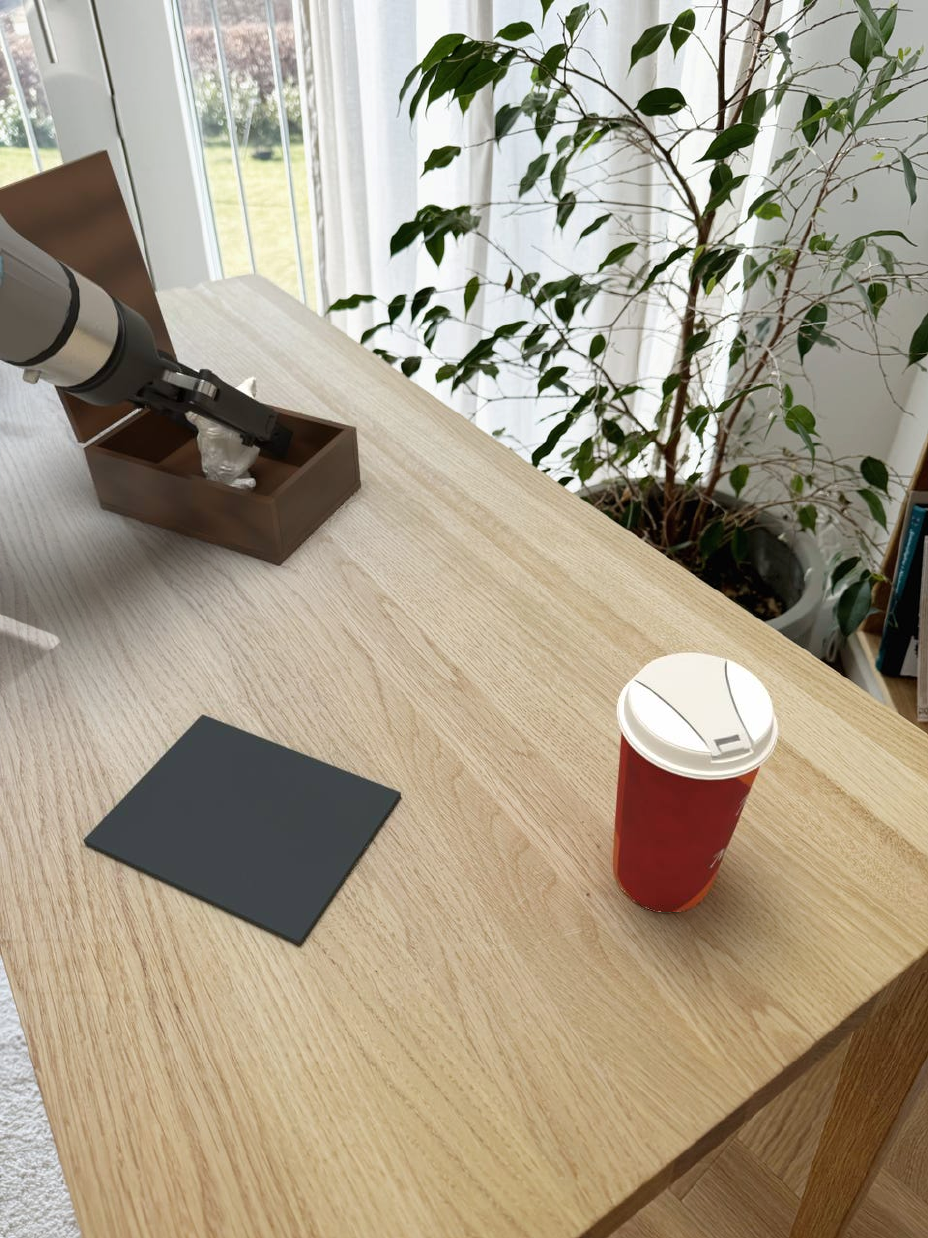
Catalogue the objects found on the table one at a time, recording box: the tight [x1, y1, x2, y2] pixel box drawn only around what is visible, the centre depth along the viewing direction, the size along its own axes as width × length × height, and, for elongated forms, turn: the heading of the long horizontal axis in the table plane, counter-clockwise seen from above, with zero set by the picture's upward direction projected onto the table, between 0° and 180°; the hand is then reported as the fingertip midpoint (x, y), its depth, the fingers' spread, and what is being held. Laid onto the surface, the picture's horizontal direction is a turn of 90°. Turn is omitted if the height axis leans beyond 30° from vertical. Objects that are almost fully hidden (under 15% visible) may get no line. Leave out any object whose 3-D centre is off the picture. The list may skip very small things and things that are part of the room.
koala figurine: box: [185, 368, 260, 492], centre depth 86 cm, size 8×7×12 cm
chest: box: [82, 402, 362, 566], centre depth 88 cm, size 20×14×6 cm
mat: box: [82, 714, 402, 946], centre depth 62 cm, size 16×12×1 cm
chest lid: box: [0, 149, 179, 444], centre depth 83 cm, size 20×14×1 cm
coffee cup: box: [612, 651, 779, 913], centre depth 54 cm, size 8×8×15 cm
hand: (250, 435), depth 89 cm, fingers closed on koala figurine, 7 cm apart
